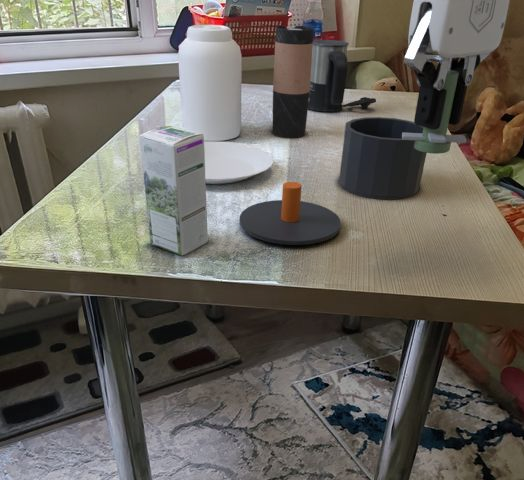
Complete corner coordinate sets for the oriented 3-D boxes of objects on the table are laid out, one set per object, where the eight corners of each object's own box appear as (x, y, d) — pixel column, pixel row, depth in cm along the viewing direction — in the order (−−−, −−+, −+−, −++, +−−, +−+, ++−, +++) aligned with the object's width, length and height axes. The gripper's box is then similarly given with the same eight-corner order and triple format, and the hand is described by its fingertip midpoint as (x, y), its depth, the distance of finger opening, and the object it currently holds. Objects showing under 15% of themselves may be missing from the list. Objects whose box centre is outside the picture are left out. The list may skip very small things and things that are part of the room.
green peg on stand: (458, 141, 65) (474, 67, 61) (467, 159, 60) (485, 79, 55) (399, 138, 66) (410, 64, 61) (402, 155, 61) (415, 76, 56)
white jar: (252, 136, 116) (255, 28, 104) (204, 146, 110) (200, 31, 98) (218, 123, 124) (216, 21, 112) (171, 131, 117) (164, 23, 105)
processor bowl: (415, 175, 99) (426, 120, 94) (421, 202, 89) (433, 142, 83) (340, 169, 101) (347, 114, 95) (337, 195, 90) (344, 135, 84)
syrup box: (209, 242, 74) (206, 131, 66) (181, 257, 71) (173, 142, 62) (178, 231, 77) (170, 123, 68) (148, 245, 73) (137, 133, 64)
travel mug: (295, 140, 115) (302, 31, 103) (264, 134, 118) (268, 27, 106) (312, 132, 120) (321, 27, 108) (282, 126, 123) (287, 24, 111)
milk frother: (298, 106, 140) (302, 39, 131) (345, 100, 147) (352, 37, 138) (333, 119, 130) (340, 48, 122) (382, 111, 138) (392, 45, 129)
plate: (198, 146, 109) (198, 135, 108) (292, 166, 101) (293, 153, 100) (131, 176, 94) (129, 163, 93) (235, 201, 87) (235, 187, 85)
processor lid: (341, 212, 84) (346, 172, 81) (337, 253, 73) (343, 209, 69) (248, 203, 86) (249, 164, 82) (230, 243, 74) (230, 199, 71)
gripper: (453, -89, 44) (413, 144, 55) (562, -83, 52) (508, 121, 63) (385, -87, 49) (360, 127, 60) (494, -81, 57) (454, 108, 68)
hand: (436, 122), depth 61 cm, fingers closed on green peg on stand, 2 cm apart
